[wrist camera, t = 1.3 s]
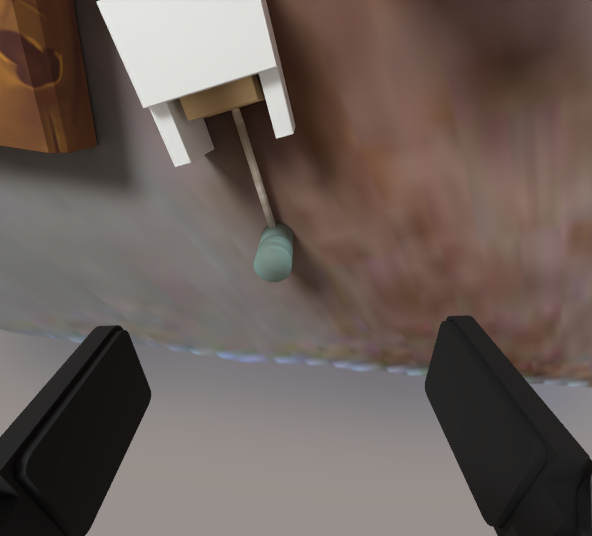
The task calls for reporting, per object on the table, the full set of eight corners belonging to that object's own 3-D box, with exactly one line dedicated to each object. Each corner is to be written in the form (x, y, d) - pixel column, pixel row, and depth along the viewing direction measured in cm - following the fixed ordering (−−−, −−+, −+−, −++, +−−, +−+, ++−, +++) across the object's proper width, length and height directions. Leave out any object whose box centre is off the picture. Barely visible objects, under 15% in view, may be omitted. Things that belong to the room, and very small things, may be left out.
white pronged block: (258, -32, 21) (239, -90, 14) (295, 125, 26) (293, 135, 19) (146, 9, 22) (82, -28, 16) (202, 152, 27) (170, 169, 20)
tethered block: (246, 24, 22) (229, 1, 17) (305, 245, 31) (306, 275, 26) (184, 45, 23) (149, 29, 18) (259, 256, 32) (250, 287, 26)
